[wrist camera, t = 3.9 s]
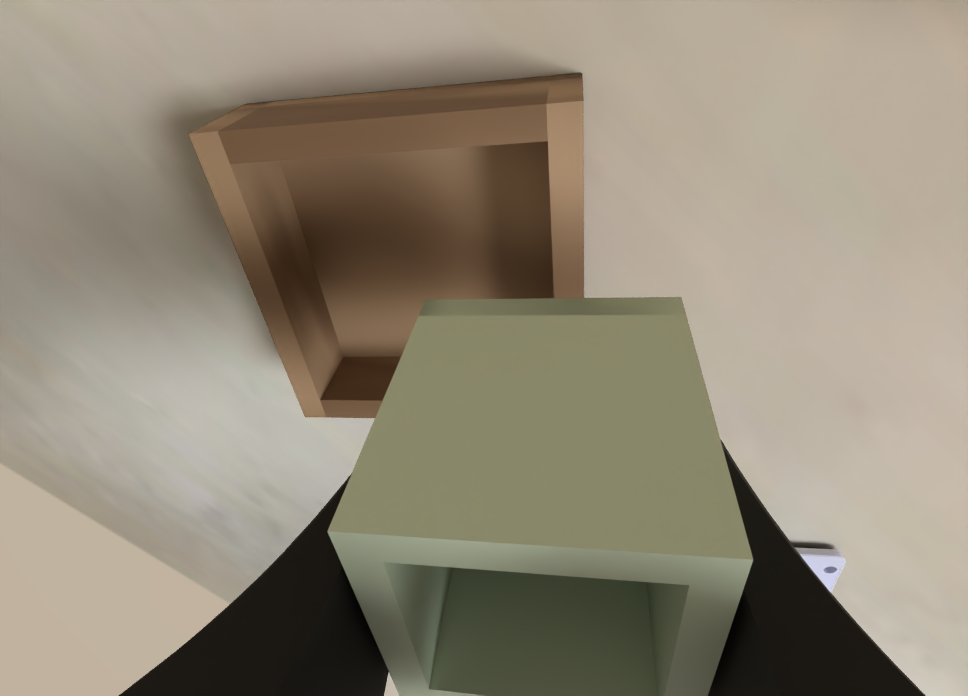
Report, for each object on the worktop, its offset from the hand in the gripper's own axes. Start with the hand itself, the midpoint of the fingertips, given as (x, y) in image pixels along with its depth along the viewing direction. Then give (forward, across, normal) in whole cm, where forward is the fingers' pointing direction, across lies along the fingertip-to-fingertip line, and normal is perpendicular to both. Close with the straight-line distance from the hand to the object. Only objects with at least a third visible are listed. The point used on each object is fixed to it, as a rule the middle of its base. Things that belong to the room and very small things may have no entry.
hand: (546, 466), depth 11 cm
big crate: (+8, +4, -1) cm, 9 cm away
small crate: (+2, 0, 0) cm, 2 cm away
